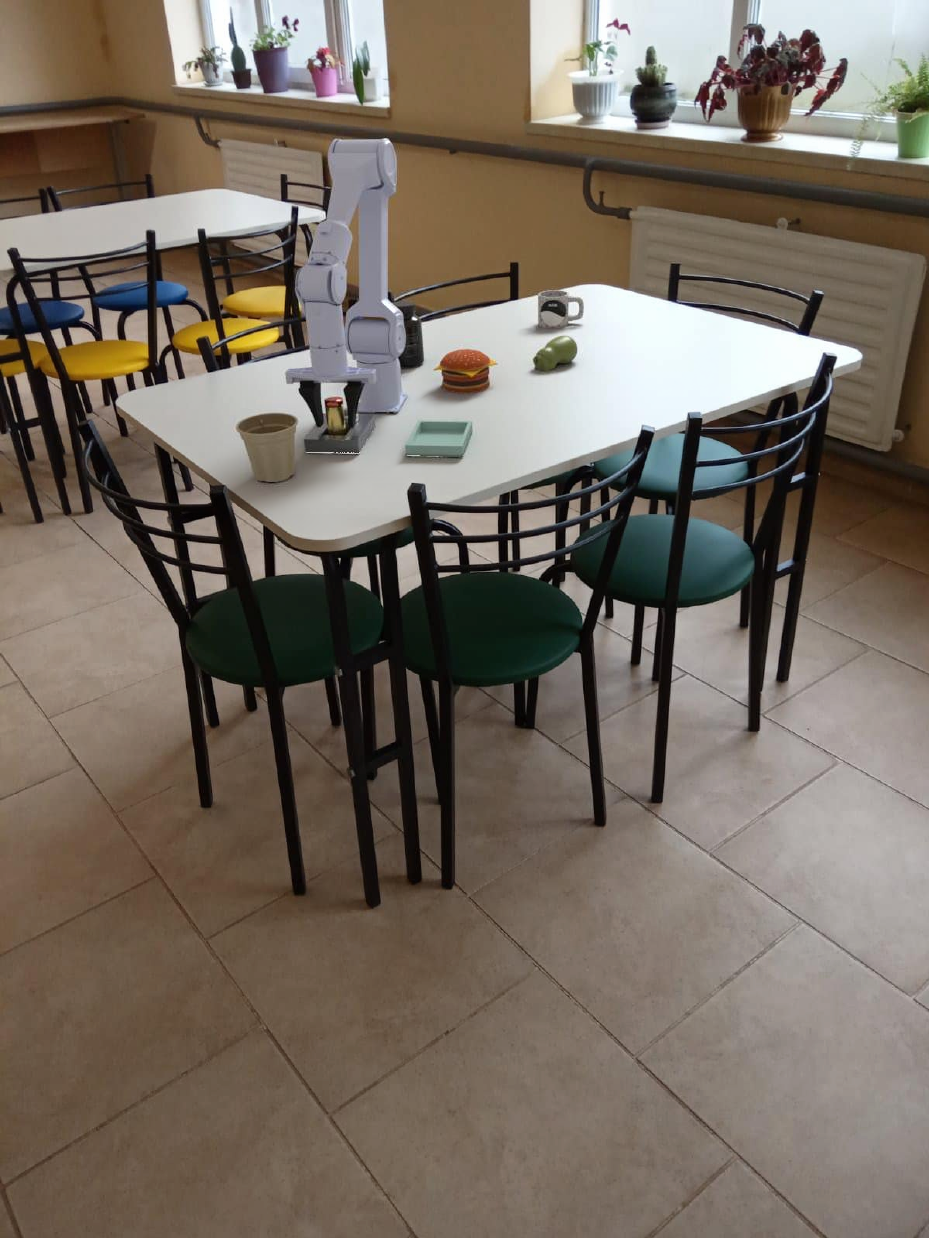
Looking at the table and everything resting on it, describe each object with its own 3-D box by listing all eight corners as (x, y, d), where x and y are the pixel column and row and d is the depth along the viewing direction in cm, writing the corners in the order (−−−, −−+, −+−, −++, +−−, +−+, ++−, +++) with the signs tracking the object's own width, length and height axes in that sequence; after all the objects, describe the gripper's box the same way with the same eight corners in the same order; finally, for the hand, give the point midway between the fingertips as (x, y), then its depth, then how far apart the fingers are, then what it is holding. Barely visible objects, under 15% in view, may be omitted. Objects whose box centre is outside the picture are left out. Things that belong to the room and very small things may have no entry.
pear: (581, 334, 201) (545, 354, 197) (584, 360, 204) (548, 380, 200) (561, 329, 205) (525, 348, 200) (564, 354, 208) (528, 373, 203)
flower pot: (232, 477, 161) (223, 424, 157) (281, 459, 167) (274, 408, 162) (267, 493, 156) (259, 439, 151) (316, 474, 161) (310, 421, 157)
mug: (538, 329, 226) (538, 298, 222) (537, 320, 231) (537, 290, 228) (584, 327, 225) (585, 296, 222) (582, 319, 231) (583, 289, 227)
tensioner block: (324, 427, 179) (322, 404, 176) (375, 428, 177) (373, 405, 175) (305, 453, 168) (302, 429, 166) (359, 454, 167) (356, 430, 165)
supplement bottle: (426, 358, 210) (422, 298, 204) (421, 368, 205) (418, 307, 198) (393, 358, 211) (388, 299, 205) (387, 369, 205) (382, 308, 199)
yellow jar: (332, 441, 173) (327, 396, 169) (349, 441, 172) (344, 396, 168) (327, 448, 170) (322, 402, 166) (345, 448, 170) (340, 403, 166)
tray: (419, 431, 175) (418, 420, 174) (472, 432, 174) (472, 421, 173) (406, 457, 165) (405, 445, 164) (462, 458, 164) (462, 446, 163)
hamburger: (458, 375, 200) (456, 341, 197) (500, 382, 196) (499, 348, 192) (430, 389, 194) (428, 354, 190) (473, 397, 189) (472, 361, 186)
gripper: (275, 350, 160) (286, 433, 167) (366, 351, 158) (374, 435, 165) (288, 337, 166) (299, 418, 173) (376, 338, 164) (383, 419, 171)
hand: (336, 425), depth 169 cm, fingers open, 5 cm apart
